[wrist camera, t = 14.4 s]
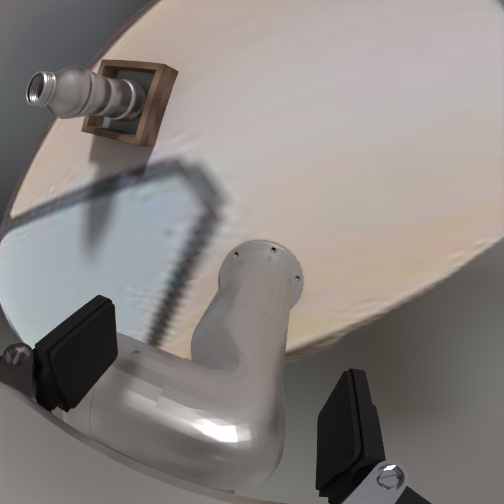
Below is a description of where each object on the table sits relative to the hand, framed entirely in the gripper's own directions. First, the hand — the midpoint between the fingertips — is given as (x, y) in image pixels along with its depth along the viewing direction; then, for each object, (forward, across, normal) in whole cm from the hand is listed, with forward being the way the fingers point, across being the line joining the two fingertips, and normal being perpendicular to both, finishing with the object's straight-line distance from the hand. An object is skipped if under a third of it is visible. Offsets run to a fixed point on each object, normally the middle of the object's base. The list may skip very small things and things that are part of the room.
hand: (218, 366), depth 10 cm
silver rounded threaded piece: (+30, +25, -13) cm, 41 cm away
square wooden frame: (+31, +26, -13) cm, 42 cm away
